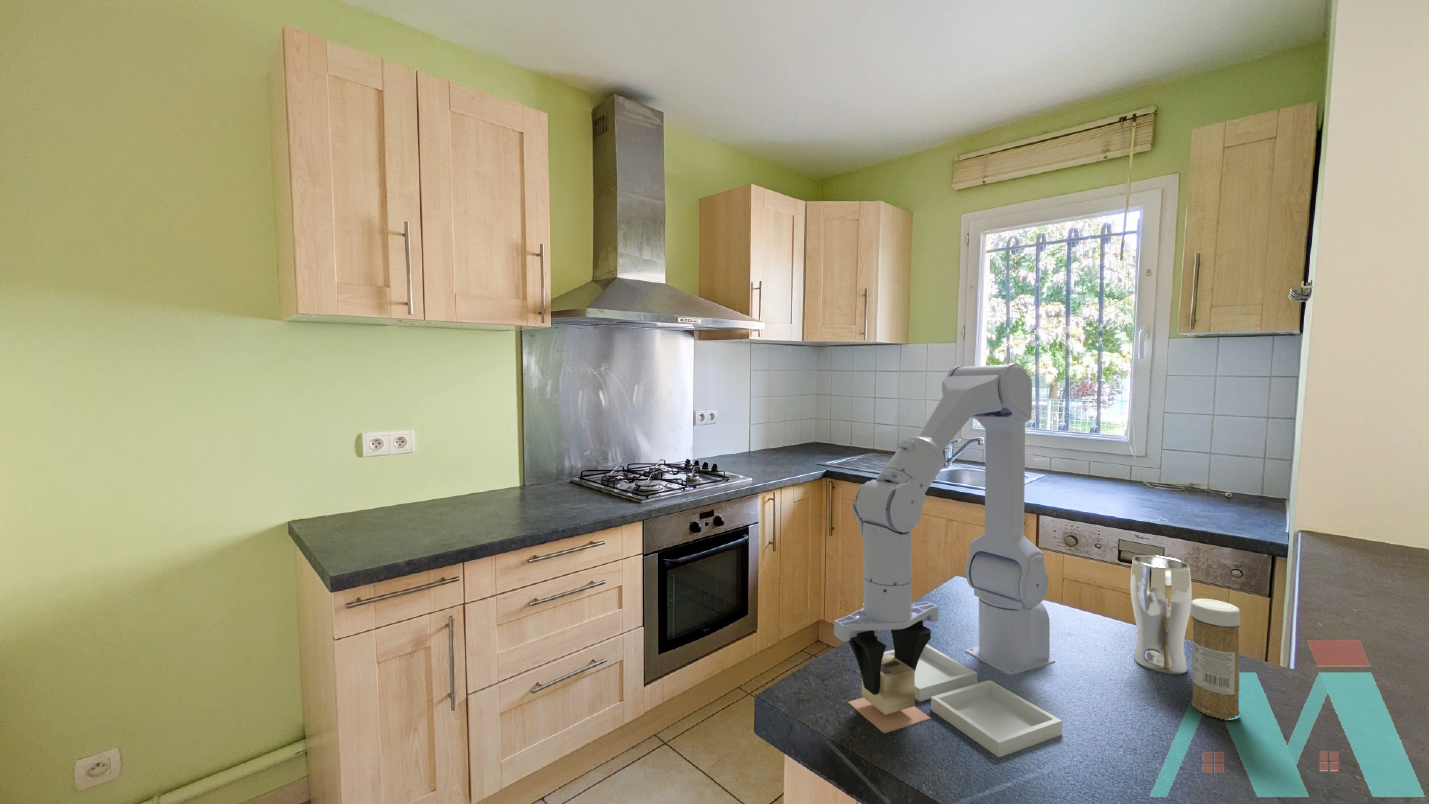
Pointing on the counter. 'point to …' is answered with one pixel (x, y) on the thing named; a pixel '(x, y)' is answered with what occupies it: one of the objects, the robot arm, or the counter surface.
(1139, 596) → the beer glass
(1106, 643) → the counter surface
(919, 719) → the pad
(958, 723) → the bin near camera
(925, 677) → the bin near arm
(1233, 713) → the sprinkles bottle
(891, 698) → the letter cube
